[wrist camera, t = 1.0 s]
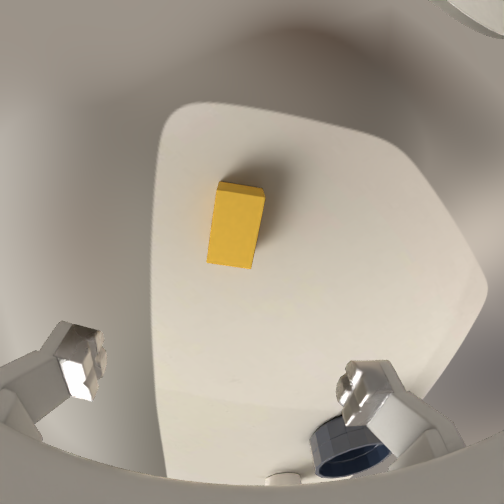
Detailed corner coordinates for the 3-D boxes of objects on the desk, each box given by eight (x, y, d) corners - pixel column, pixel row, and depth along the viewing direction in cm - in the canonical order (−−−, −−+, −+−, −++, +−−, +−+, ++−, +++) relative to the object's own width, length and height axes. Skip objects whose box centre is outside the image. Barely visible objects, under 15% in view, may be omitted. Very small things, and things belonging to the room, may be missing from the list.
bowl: (387, 400, 32) (401, 433, 27) (376, 437, 37) (385, 465, 32) (307, 420, 32) (315, 456, 27) (309, 453, 37) (315, 483, 32)
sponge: (219, 181, 20) (216, 189, 18) (262, 188, 20) (265, 197, 18) (209, 247, 22) (206, 262, 20) (249, 253, 22) (250, 269, 20)
